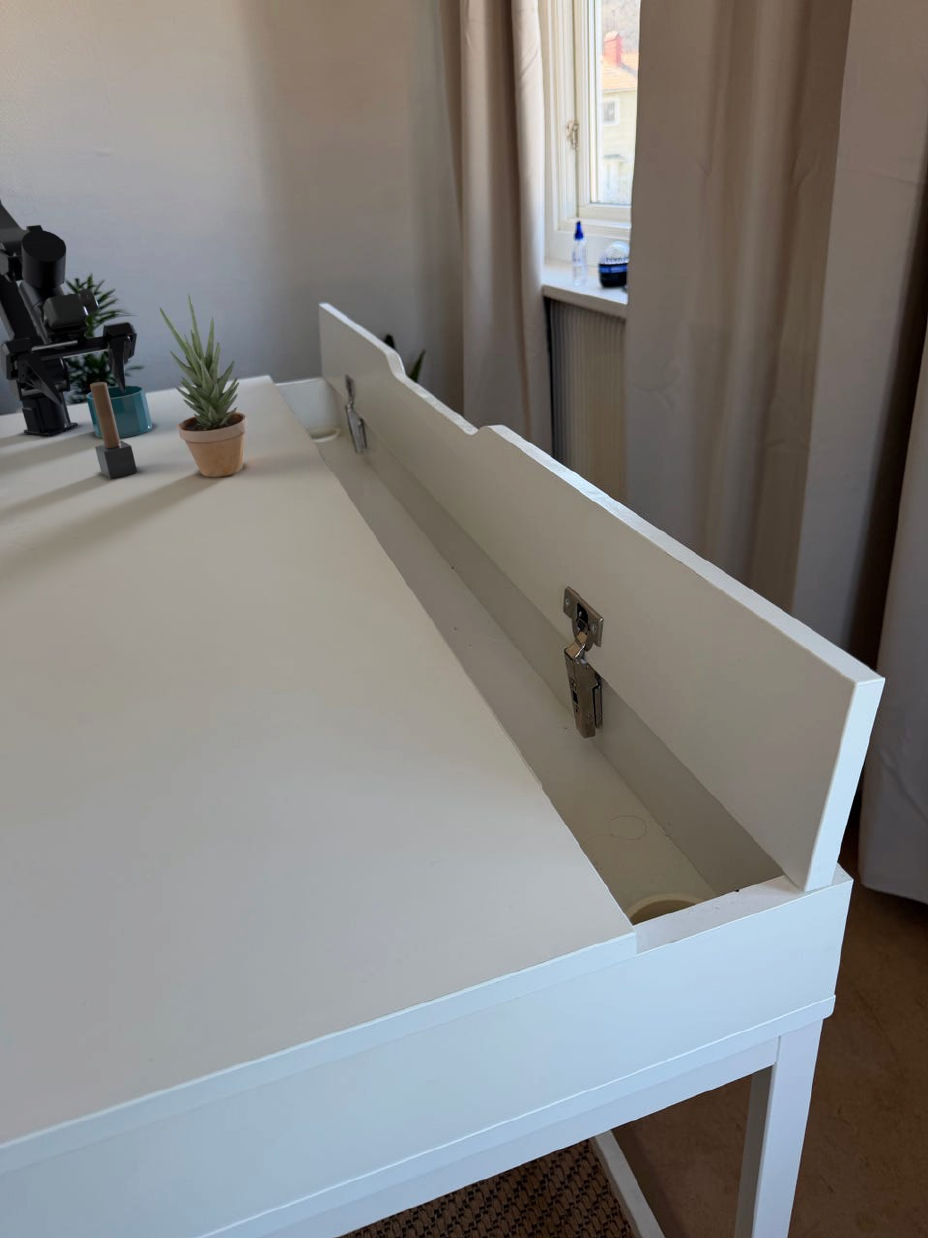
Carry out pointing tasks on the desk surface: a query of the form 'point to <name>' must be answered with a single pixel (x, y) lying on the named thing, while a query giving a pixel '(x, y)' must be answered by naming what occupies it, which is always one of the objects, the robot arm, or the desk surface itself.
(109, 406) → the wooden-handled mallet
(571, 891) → the desk surface
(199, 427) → the potted plant
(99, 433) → the teal paint pail
